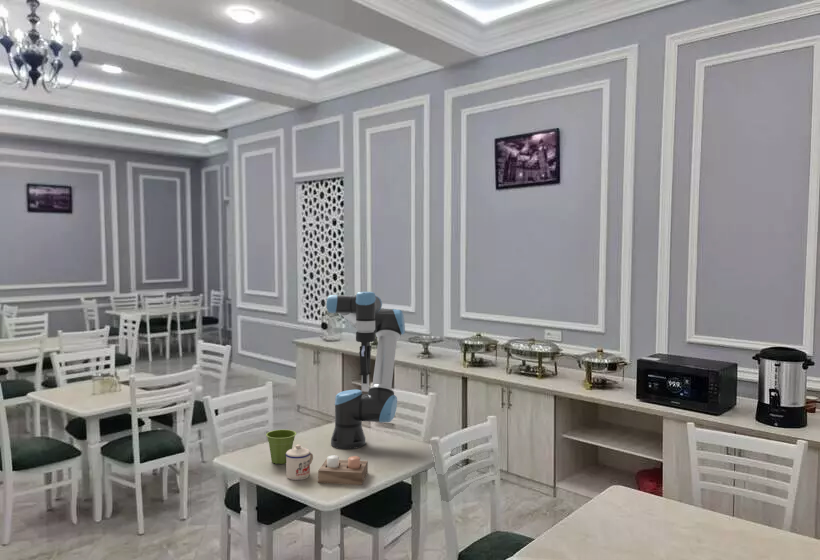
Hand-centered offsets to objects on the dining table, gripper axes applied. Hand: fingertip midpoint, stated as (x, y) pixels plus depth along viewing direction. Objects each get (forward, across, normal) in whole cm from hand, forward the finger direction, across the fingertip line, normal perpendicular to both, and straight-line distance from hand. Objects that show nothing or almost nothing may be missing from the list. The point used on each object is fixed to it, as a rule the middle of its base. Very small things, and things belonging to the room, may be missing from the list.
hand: (365, 391), depth 225 cm
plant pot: (+30, 0, -34) cm, 45 cm away
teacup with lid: (+30, +13, -22) cm, 39 cm away
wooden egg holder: (+29, +14, -6) cm, 33 cm away
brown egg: (+28, +14, -2) cm, 31 cm away
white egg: (+28, +14, -10) cm, 33 cm away
